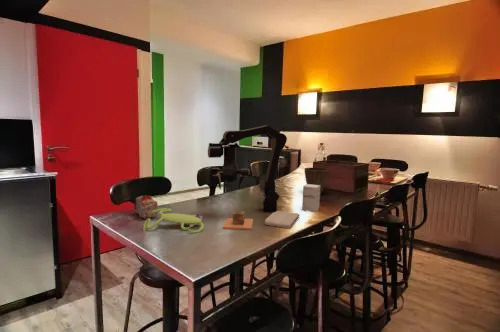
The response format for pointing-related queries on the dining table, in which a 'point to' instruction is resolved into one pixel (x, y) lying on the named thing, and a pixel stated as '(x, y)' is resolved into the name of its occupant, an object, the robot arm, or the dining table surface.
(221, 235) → the dining table surface
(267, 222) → the washcloth
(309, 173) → the plant pot
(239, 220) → the walnut cube
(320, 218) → the dining table surface
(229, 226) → the terracotta tile
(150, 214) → the food item
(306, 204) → the supplement box
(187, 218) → the figurine
